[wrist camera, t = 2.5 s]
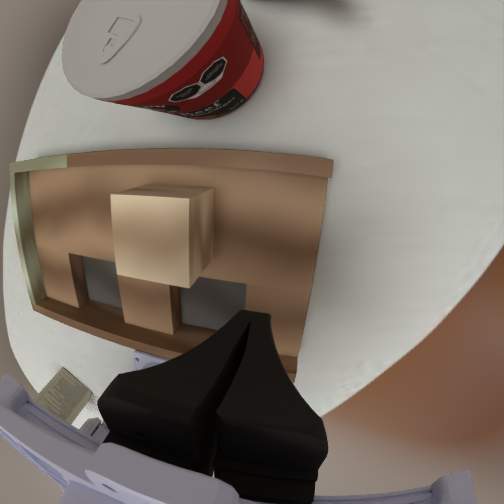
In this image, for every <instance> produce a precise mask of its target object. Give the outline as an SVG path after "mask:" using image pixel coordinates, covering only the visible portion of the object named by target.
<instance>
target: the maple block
mask: <svg viewBox="0 0 504 504" xmlns="http://www.w3.org/2000/svg"><path fill="white" fill-rule="evenodd" d="M214 210H215V187H203V186H187V185H168V184H146V185H142V186H138V187H134V188H131V189H127V190H124V191H120V192H117V193H113V194H111V217H112V231H113V243H114V253H115V262H116V271H117V274H118V275H122V276H127V277H132V278H137V279H142V280H147V281H152V282H157V283H163V284H168V285H173V286H179V287H185V288H190V287H191V286H192V285H193V283H194V282H195V281H196V280H197V278H198V277H199V276H200V275H201V273H202V272H203V271H204V270H205V269H206V267H207V266H208V265H209V264H210V262H211V261H212V260H213V239H214Z"/></svg>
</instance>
